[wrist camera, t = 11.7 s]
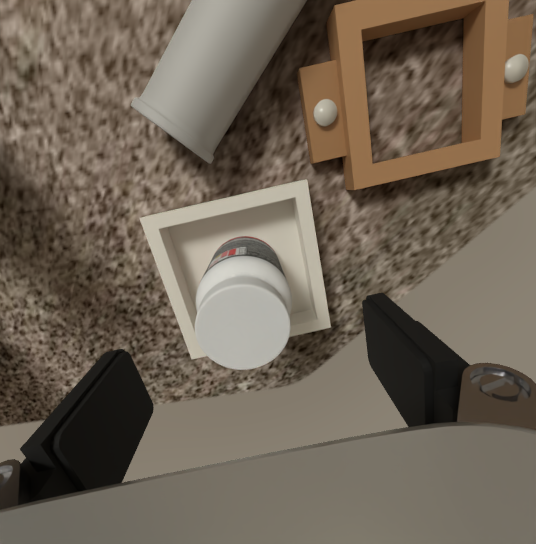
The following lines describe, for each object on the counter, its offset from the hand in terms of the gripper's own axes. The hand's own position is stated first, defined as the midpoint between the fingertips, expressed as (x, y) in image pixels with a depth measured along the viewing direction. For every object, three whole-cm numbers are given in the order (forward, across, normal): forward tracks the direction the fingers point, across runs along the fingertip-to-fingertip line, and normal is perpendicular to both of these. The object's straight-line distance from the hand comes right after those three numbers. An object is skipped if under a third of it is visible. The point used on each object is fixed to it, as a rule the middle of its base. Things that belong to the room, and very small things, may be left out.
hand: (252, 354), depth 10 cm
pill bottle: (+12, +1, 0) cm, 13 cm away
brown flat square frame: (+13, -14, -10) cm, 22 cm away
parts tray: (+13, +1, 0) cm, 13 cm away
